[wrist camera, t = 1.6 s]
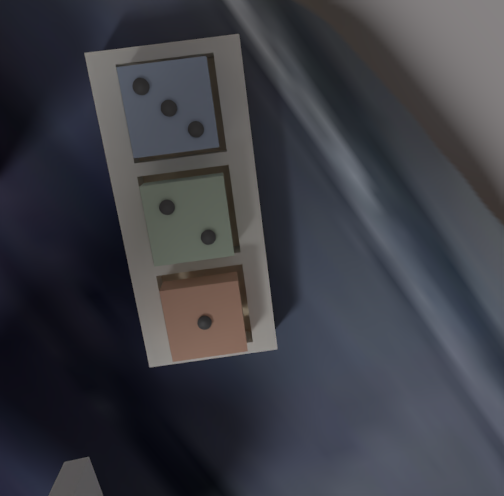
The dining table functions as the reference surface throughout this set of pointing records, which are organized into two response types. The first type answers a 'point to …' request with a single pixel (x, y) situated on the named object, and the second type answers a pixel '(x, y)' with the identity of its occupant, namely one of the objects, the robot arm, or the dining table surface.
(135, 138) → the tile three
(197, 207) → the tile two
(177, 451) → the dining table surface
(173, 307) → the tile one
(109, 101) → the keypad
